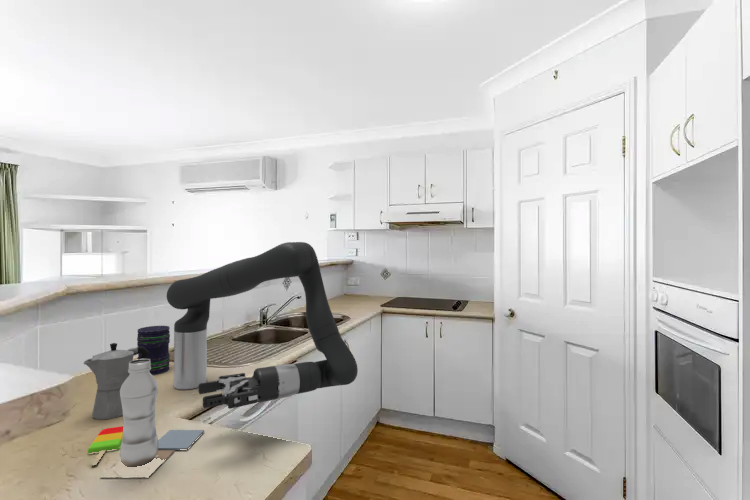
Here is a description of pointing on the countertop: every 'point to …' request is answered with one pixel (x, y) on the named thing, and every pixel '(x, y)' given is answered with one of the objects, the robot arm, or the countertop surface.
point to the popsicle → (107, 441)
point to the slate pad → (178, 439)
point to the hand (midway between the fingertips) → (200, 395)
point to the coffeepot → (111, 379)
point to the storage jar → (155, 347)
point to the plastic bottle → (139, 415)
